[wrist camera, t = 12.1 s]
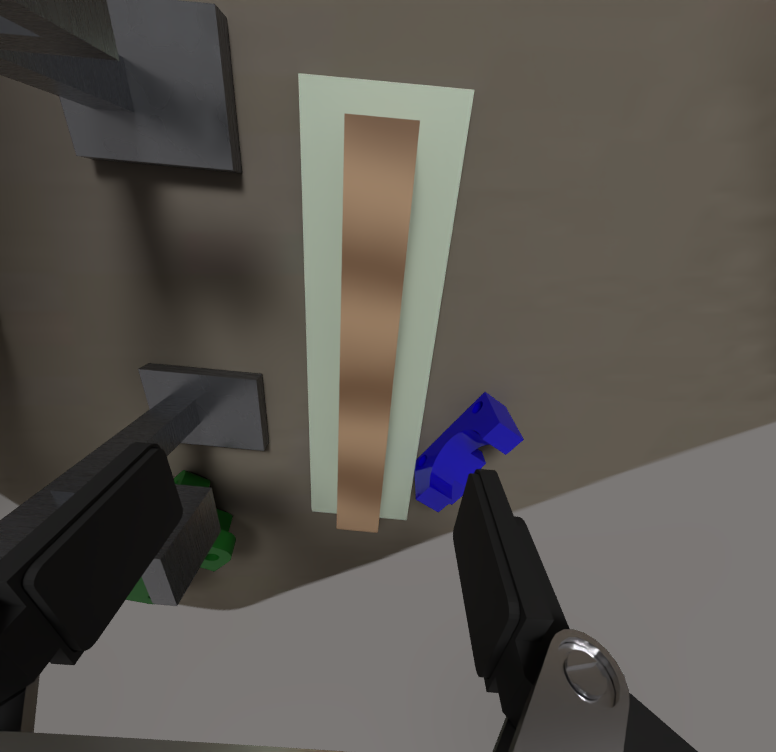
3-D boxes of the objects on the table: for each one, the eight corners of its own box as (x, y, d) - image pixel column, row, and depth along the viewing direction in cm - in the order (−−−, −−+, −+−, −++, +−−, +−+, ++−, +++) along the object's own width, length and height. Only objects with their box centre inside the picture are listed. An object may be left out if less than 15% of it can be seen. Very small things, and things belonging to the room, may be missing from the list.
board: (304, 82, 15) (298, 73, 14) (470, 97, 15) (474, 89, 14) (314, 501, 28) (311, 511, 27) (406, 510, 27) (406, 520, 27)
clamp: (209, 502, 34) (157, 603, 29) (152, 481, 31) (82, 590, 26) (264, 493, 27) (208, 626, 22) (196, 465, 24) (112, 611, 19)
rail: (354, 132, 15) (344, 113, 12) (416, 138, 15) (420, 120, 12) (343, 496, 26) (336, 528, 23) (380, 500, 26) (377, 532, 23)
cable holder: (447, 480, 26) (454, 521, 23) (414, 460, 25) (415, 499, 22) (519, 415, 23) (541, 451, 20) (484, 390, 22) (499, 422, 19)
